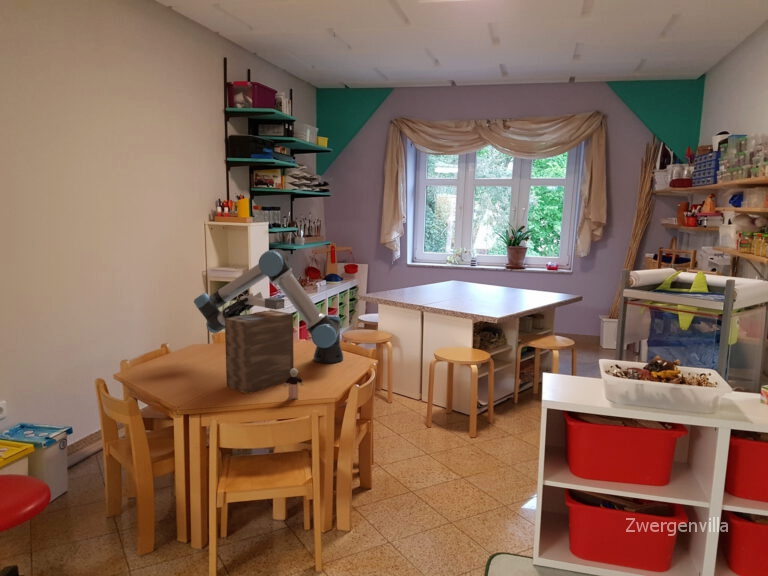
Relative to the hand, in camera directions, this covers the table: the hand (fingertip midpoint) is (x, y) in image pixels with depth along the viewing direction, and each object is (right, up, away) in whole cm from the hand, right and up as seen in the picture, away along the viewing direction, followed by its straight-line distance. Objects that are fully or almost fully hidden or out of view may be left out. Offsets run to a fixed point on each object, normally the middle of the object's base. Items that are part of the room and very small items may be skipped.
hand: (256, 295), depth 251 cm
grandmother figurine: (+21, -42, -24) cm, 53 cm away
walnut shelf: (+3, -39, -5) cm, 39 cm away
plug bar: (+2, -4, -1) cm, 5 cm away
